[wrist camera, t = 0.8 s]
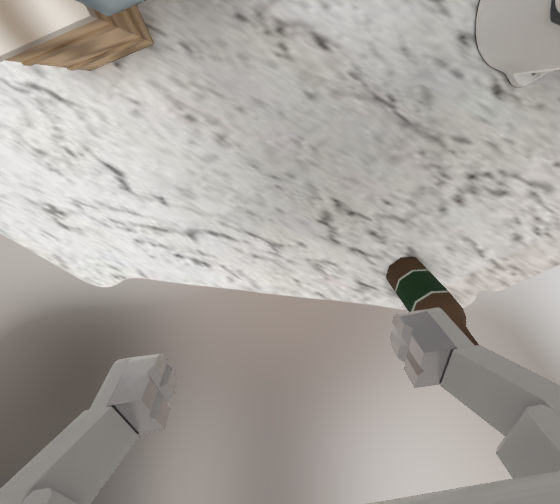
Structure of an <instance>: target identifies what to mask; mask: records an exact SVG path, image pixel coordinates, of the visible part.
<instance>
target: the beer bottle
mask: <svg viewBox="0 0 560 504" xmlns="http://www.w3.org/2000/svg"><path fill="white" fill-rule="evenodd" d="M387 280H388V282H389V283H390V285H391V286H392V288H393V289H394V291H395V292H396V293H397V295H398V296H399V298H400V299H401V301H402V302H403V304H404V305H405V307H406V308H407V309H408V311H409V312H412V311H418V310H425V309H431V308H438V307H439V308H440V309H442V310H443V311H444V312H445V313H446V314H447V315H448V317H449V318H450V319H451V320H452V321H453V322H454V323H455V324H456V325H457V326H458V328H459V329H460V330H461V331H462V332H463V333H464V334H465V335H466V336H467V337H468V339H469V340H470V341H471V342H472V343H473V344H474V345H479V344H478V343H477V342H476V340H475V339H474V338H473V336H472V335H471V334H470V332H469V331H468V329H467V327H466V316H465V313H464V311H463V308H462V307H461V306H460V305H459V303H458V302H457V301H456V300H455V299H454V297H453V296H452V295H451V294H450V293H449V291H448V290H447V289H446V288H445V287H444V286H443V285H442V284H441V283H440V282H439V281H438V280H437V279H436V278H435V277H434V276H433V275H432V274H431V273H430V272H429V271H428V269H427V268H426V267H425V266H424V265H423V264H422V263H421V262H420V261H419V260H418V259H416V258H400V259H399V260H398V261H396V262H395V263H394V264H392V265H391V266H390V267H389V270H388V274H387Z"/></svg>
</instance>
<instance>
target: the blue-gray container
mask: <svg viewBox="0 0 560 504" xmlns="http://www.w3.org/2000/svg"><path fill="white" fill-rule="evenodd" d="M76 1H78V2H80V3H82V4H84V5H86V6H88V7H90V8H92V9H94V10H96V11H98V12H100V13H102V14H104V15H106V16H108V17H109V16H112V15H114V14H116V13H118V12H121V11H123V10H125V9H127V8H130V7H132V6H134V5H136V4H139V3H141V2H143V1H145V0H76Z"/></svg>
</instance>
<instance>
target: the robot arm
mask: <svg viewBox="0 0 560 504" xmlns="http://www.w3.org/2000/svg"><path fill="white" fill-rule="evenodd" d="M476 39H477V45H478V48H479V51H480V54H481V55H482V57H483V59H484V60H485V61H486V62H487V63H488V64H489V65H490V66H491V67H493V68H495V69H497V70H499V71H502V72H503V73H505V74H506V76H507V78H508V79H509V81H510V83H511V84H512V85H513V86H514V87H523V86H526V85H528V84H530V83H532V82H534V81H536V80H538V79H539V78H541V77H543V76H545V75H547V74H549V73H551V72H552V71H555V70H560V0H480V3H479V7H478V12H477V19H476ZM531 73H532V74H531ZM392 322H393V324H394V326H395V327H394V328H393V329H392V331H391V336H390V338H391V343H392V347H393V349H394V352H395V353H396V355H397V357H398V358H399V359H401V360H402V361H404V362H405V367H404V370H405V372H406V373H407V375H408V377H409V378H410V380H411V382H412V384H413V386H414V388H416V387H424V386H431V385H438V384H441V386H442V387H443V388H444V389H445V390H447V391H448V392H449V393H450V394H452V395H453V396H454V397H455V398H457V399H458V400H459V401H461V402H462V403H463V404H464V405H466V406H467V407H468V408H470V409H471V410H472V411H474V412H475V413H476V414H477V415H479V416H480V417H481V418H482V419H484V420H485V421H486V422H487V423H489V424H490V425H491V426H493V427H494V428H495V429H496V430H498V431H499V432H501V433H502V434H503V435H504V436H505V438H504V439H503V441H502V442H501V443H500V445H499V446H498V447H497V451H496V454H497V455H498V457H499V458H500V460H501V461H502V463H503V464H504V466H505V467H506V469H507V470H508V472H509V473H510V475H511V476H512V478H513V479H508V480H503V481H498V482H491V483H485V484H479V485H474V486H468V487H462V488H456V489H450V490H444V491H439V492H433V493H428V494H421V495H416V496H410V497H404V498H398V499H392V500H386V501H381V502H375V503H369V504H560V385H558V384H556V383H554V382H552V381H550V380H548V379H546V378H544V377H542V376H540V375H538V374H536V373H534V372H532V371H530V370H528V369H526V368H524V367H522V366H520V365H518V364H516V363H514V362H512V361H510V360H508V359H506V358H504V357H502V356H500V355H498V354H496V353H494V352H492V351H490V350H488V349H486V348H484V347H483V346H481V345H474V344H473V343H472V342H471V341H470V340H469V339H468V337H467V336H466V335H465V334H464V333H463V332H462V331H461V330H460V329H459V328H458V326H457V325H456V324H455V323H454V322H453V321H452V320H451V319H450V318H449V317H448V315H447V314H446V313H445V312H444V311H443V310H442V309H440V308H439V307H438V308H431V309H425V310H418V311H412V312H407V313H402V314H396V315H394V317H393V321H392ZM167 360H168V359H167V357H166V356H165V354H154V355H147V356H140V357H133V358H126V359H120V360H117V361H116V362H115V363H114V364H113V366H112V368H111V369H110V371H109V373H108V375H107V377H106V379H105V381H104V383H103V385H102V387H101V388H100V391H99V392H98V394H97V396H96V398H95V400H94V402H93V404H92V406H91V408H90V409H89V410H85V411H84V412H83V413H82V414H80V415H79V416H78V417H77V418H76V419H75V420H74V421H73V422H72V423H71V424H70V425H69V426H68V427H67V428H65V429H64V430H63V431H62V432H61V433H60V434H59V435H58V436H57V437H56V438H55V439H54V440H52V441H51V442H50V443H49V444H48V445H47V446H46V447H45V448H44V449H43V450H42V451H41V452H40V453H39V454H38V455H36V456H35V457H34V458H33V459H32V460H31V461H30V462H29V463H28V464H27V465H26V466H25V467H23V468H22V469H21V470H20V471H19V472H18V473H17V474H16V475H15V476H14V477H13V478H12V479H11V480H10V481H8V482H7V483H6V484H5V485H4V486H3V487H2V488H1V489H0V504H90V503H91V502H92V501H93V499H94V498H95V497H96V495H97V494H98V492H99V491H100V490H101V488H102V487H103V485H104V484H105V483H106V481H107V480H108V479H109V477H110V476H111V474H112V473H113V472H114V470H115V469H116V467H117V466H118V464H119V463H120V462H121V461H122V459H123V458H124V457H125V455H126V454H127V452H128V451H129V450H130V448H131V447H132V445H133V444H134V443H135V441H136V440H137V438H138V437H139V435H140V434H145V433H150V432H155V431H160V430H165V427H166V423H167V419H168V416H169V412H170V406H169V404H168V401H169V400H170V399H171V398H172V397H173V395H174V392H175V388H176V374H175V371H174V369H173V367H171V366H169V365H167V364H166V363H167Z"/></svg>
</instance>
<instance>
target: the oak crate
mask: <svg viewBox="0 0 560 504" xmlns="http://www.w3.org/2000/svg"><path fill="white" fill-rule="evenodd" d="M152 44H154V42H153V40H152V38H151V36H150V34H149V32H148V29H147V27H146V25H145V23H144V21H143V19H142V16H141V14H140V12H139V10H138V8H137V6H136V5H134V6H132V7H130V8H127V9H125V10H123V11H121V12H118V13H116V14H114V15H112V16H109V17H108V16H106V15H104V14H102V13H100V12H98V11H96V10H94V9H92V8H90V7H88V6H86V5H84V4H82V3H80V2H78V1H76V0H0V62H1V61H3V60H8V61H16V62H22V64H23V65H28V66H32V65H34V64H40V65H48V66H57V67H65V68H67V69H68V70H76V69H81V70H89V71H91V70H93V69H96V68H98V67H100V66H103V65H105V64H107V63H110V62H112V61H115V60H117V59H119V58H122V57H124V56H126V55H129V54H131V53H134V52H136V51H138V50H141V49H143V48H145V47H148V46H150V45H152Z"/></svg>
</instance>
